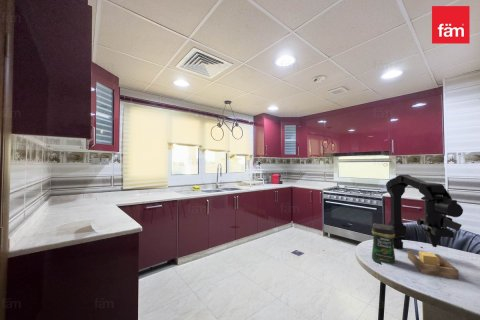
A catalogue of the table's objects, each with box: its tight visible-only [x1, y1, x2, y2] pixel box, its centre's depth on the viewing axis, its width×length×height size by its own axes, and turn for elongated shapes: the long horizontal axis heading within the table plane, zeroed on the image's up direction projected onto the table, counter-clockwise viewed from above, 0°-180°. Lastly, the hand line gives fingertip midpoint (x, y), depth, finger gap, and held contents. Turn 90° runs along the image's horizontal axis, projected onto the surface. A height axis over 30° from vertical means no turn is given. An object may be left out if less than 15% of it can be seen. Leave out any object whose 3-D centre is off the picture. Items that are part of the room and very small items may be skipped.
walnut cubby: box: [407, 250, 460, 280], centre depth 93 cm, size 12×16×5 cm
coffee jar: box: [371, 222, 396, 265], centre depth 101 cm, size 10×8×19 cm
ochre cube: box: [418, 250, 438, 266], centre depth 95 cm, size 5×5×5 cm
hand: (434, 246), depth 89 cm, fingers closed
